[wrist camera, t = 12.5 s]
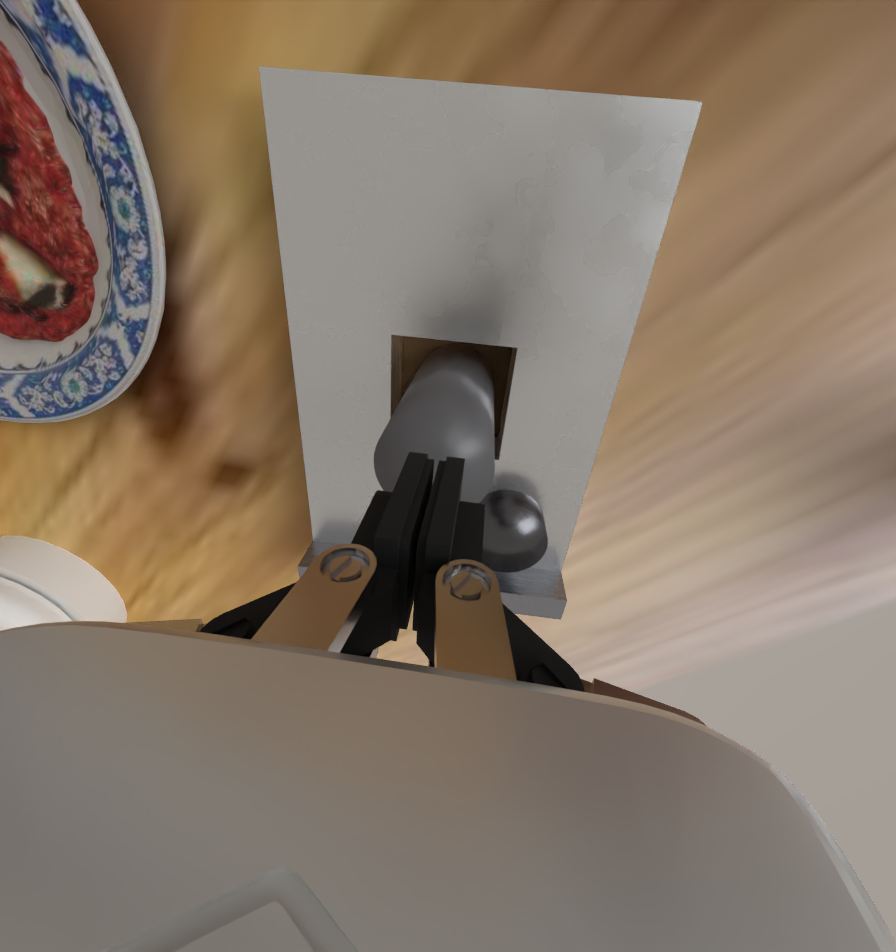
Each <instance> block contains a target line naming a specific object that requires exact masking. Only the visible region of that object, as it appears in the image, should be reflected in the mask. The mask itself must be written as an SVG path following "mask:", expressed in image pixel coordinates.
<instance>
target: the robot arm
mask: <svg viewBox="0 0 896 952" xmlns="http://www.w3.org/2000/svg"><path fill="white" fill-rule="evenodd" d="M464 464H465V459H464V458H456V457H448V456H447V458H446V461H442V460H439V463H438V467H437V471H436V474H435V478H434V482H433V472H434V459H428V454H424V453H416V452H409V453H408V456H407V458H406V461H405V463H404V465H403V468H402V470H401V473H400V475H399V477H398V480H397V482H396V485H395V487H394V490H393V492H388V491H381V490H377V491H376V492H375V494H374V496H373V498H372V500H371V502H370V505H369V507H368V509H367V511H366V513H365V515H364V517H363V519H362V521H361V523H360V525H359V527H358V530H357V532H356V534H355V536H354V538H353V540H352V542H351V543H348V544H339V545H336V546H332V547H330V548H328V549H326V550H324V551H323V552H322V553H321V554H320V555H319V556H317V558H316V559H315V560H314V561H313V563H312V564H311V565H310V566H309V568H308V569H307V570H306V571H305V573H304V574H303V575H302V576H301V578H300V579H299V580H298V581H297V582H296V583H294V584H291V585H289V586H287V587H284V588H282V589H280V590H277V591H275V592H273V593H270V594H268V595H266V596H263V597H261V598H259V599H256V600H254V601H252V602H249V603H247V604H245V605H242V606H240V607H238V608H235V609H233V610H230V611H228V612H226V613H223V614H222V615H220V616H218V617H216V618H214V619H212V620H211V621H210V622H209V623H208V624H203V622H202V620H201V619H188V620H169V621H149V622H130V623H117V622H105V621H68V622H52V623H40V624H34V625H28V626H22V627H15V628H10V629H5V630H1V631H0V952H896V941H895V939H894V937H893V936H892V934H891V932H890V930H889V928H888V927H887V925H886V923H885V921H884V919H883V918H882V916H881V914H880V913H879V911H878V909H877V907H876V906H875V904H874V902H873V901H872V899H871V897H870V896H869V894H868V892H867V890H866V889H865V887H864V886H863V884H862V882H861V880H860V879H859V877H858V876H857V874H856V872H855V870H854V869H853V867H852V866H851V864H850V862H849V861H848V859H847V858H846V856H845V855H844V853H843V851H842V850H841V848H840V847H839V845H838V844H837V842H836V841H835V839H834V837H833V836H832V834H831V833H830V831H829V830H828V828H827V827H826V825H825V824H824V822H823V821H822V820H821V818H820V817H819V816H818V814H817V813H816V811H815V810H814V809H813V807H812V806H811V805H810V804H809V802H808V801H807V800H806V799H805V797H804V796H803V795H802V793H801V792H800V791H799V790H798V789H797V788H796V787H795V786H794V785H793V784H792V783H791V782H790V781H789V779H787V777H786V776H784V775H783V774H782V773H781V772H780V771H779V770H777V769H776V768H775V767H774V766H773V765H771V764H770V763H769V762H767V761H766V760H765V759H763V758H761V757H760V756H759V755H757V754H756V753H754V752H753V751H751V750H750V749H748V748H746V747H745V746H743V745H741V744H740V743H738V742H737V741H735V740H733V739H731V738H728V737H727V736H725V735H723V734H721V733H719V732H717V731H715V730H713V729H711V728H709V727H707V726H706V725H705V724H704V723H703V722H701V721H700V720H699V719H698V718H696V717H694V716H692V715H690V714H688V713H686V712H685V711H682V710H679V709H676V708H674V707H671V706H668V705H665V704H663V703H660V702H657V701H655V700H652V699H649V698H646V697H643V696H641V695H638V694H635V693H633V692H630V691H627V690H625V689H622V688H619V687H616V686H614V685H611V684H608V683H605V682H603V681H600V680H597V679H593V681H592V683H590V682H588V681H585V680H582V679H580V677H579V675H578V674H577V673H576V672H575V671H574V669H573V668H572V667H571V666H570V665H569V664H568V663H567V662H566V661H565V660H564V659H563V658H561V657H560V656H559V655H558V654H557V653H556V652H555V651H554V650H553V649H552V648H551V647H550V646H548V645H547V644H546V643H545V642H544V641H543V640H542V639H541V638H540V637H539V636H538V635H537V634H536V633H534V632H533V631H532V630H531V629H530V628H529V627H528V626H527V625H526V624H525V623H524V622H523V621H521V620H520V619H519V618H518V617H517V616H516V615H515V614H514V613H513V612H512V611H511V610H510V609H508V608H507V607H506V606H505V605H504V604H503V603H502V599H501V594H500V588H499V583H498V580H497V578H496V575H495V574H494V573H493V571H492V570H491V569H490V568H488V567H487V566H485V565H484V564H482V551H483V534H484V517H485V504H480V503H473V502H465V501H460V498H461V490H462V481H463V473H464ZM413 601H414V611H413V630H414V631H417V645H418V646H419V647H420V648H421V650H422V651H423V652H424V653H425V655H426V656H427V657H428V658H429V660H428V666H422V665H415V664H409V663H402V662H396V661H389V660H383V659H376V658H377V654H378V647H379V646H381V645H383V644H385V643H386V642H388V641H390V640H392V641H396V640H397V636H398V632H399V629H407V626H408V622H409V618H410V614H411V610H412V605H413Z"/></svg>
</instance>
